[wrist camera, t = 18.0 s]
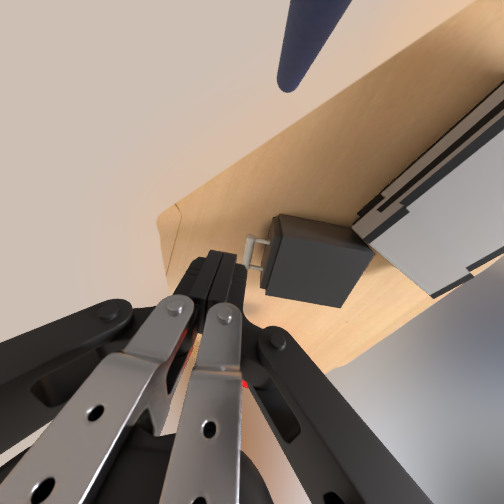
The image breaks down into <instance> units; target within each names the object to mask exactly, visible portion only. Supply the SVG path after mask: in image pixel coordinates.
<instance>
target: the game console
mask: <svg viewBox="0 0 504 504" xmlns="http://www.w3.org/2000/svg"><path fill="white" fill-rule="evenodd" d="M357 214H358V215H359V216H360V218H359V219H358V220H357V221H356V222H354V223H353V224H352V225H353V226H352V229H353V230H354V231H355V232H356V233H357V234H358V235H359V236H360V237H361V238H362V239H363V240H364V241H365V242H367V243H368V244H369V245H370V246H371V247H373V248H374V249H375V250H376V251H377V252H379V253H380V254H381V255H382V256H383V257H384V258H386V259H387V260H388V261H389V262H390V263H392V264H393V265H394V266H395V267H396V268H397V269H399V270H400V271H401V272H402V273H403V274H405V275H406V276H407V277H408V278H409V279H410V280H412V281H413V282H414V283H415V284H416V285H418V286H419V287H420V288H421V289H422V290H424V291H425V292H426V293H427V294H428V295H429V296H431V297H432V298H433V299H435V298H437V297H438V296H440V295H442V294H444V293H446V292H448V291H450V290H452V289H453V288H455V287H457V286H459V285H461V284H463V283H465V282H466V281H468V280H470V279H472V278H474V276H473V275H472V274H471V273H470V271H472V270H474V269H476V268H478V267H479V266H481V265H483V264H485V263H487V262H488V261H490V260H492V259H494V258H496V257H497V256H499V255H501V254H503V253H504V81H503V82H502V83H501V84H500V85H499V86H497V87H496V88H495V89H494V90H493V91H492V92H491V93H490V94H489V95H488V96H486V97H485V98H484V99H483V100H482V101H481V102H480V103H479V104H478V105H476V106H475V107H474V108H473V109H472V110H471V111H470V112H469V113H468V114H466V115H465V116H464V117H463V118H462V119H461V120H460V121H459V122H458V123H456V124H455V125H454V126H453V127H452V128H451V129H450V130H449V131H448V132H447V133H445V134H444V135H443V136H442V137H441V138H440V139H439V140H438V141H437V142H435V143H434V144H433V145H432V146H431V147H430V148H429V149H428V150H427V151H425V152H424V153H423V154H422V155H421V156H420V157H419V158H418V159H417V160H416V161H414V162H413V163H412V164H411V165H410V166H409V167H408V168H407V169H406V170H404V171H403V172H402V173H401V174H400V175H399V176H398V177H397V178H396V179H394V180H393V181H392V182H391V183H390V184H389V185H388V186H387V187H386V188H384V189H383V190H382V191H381V192H380V193H379V194H378V195H377V196H376V197H375V198H373V199H372V200H371V201H370V202H369V203H368V204H367V205H366V206H365V207H363V208H362V209H361V210H360V211H359V212H358V213H357Z"/></svg>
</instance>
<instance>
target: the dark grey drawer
mask: <svg viewBox="0 0 504 504" xmlns="http://www.w3.org/2000/svg"><path fill="white" fill-rule="evenodd" d="M281 237H282V235H281V229H280V223H279V218H275V217H273V219H272V223H271V227H270V230H269V234H268V238H267V240H265V239H259V238H256V237H255V236H254V235H251V234H249V235H247V238H246V243H245V249H244V254H243V259H242V265H245V267H246V269H247V270H248V269H255V270H260V271H261V275H260V288H262V289H266V287H267V284H268V281H269V277H270V274H271V271H272V267H273V265H274V262H275V258H276V255H277V252H278V248H279V245H280V242H281ZM255 242H258V243H263V244H266V246H265V250H264V254H263V258H262V262H261V267H260V266H255V265H250V262H251V257H252V253H253V248H254V244H255Z"/></svg>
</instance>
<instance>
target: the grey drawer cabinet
mask: <svg viewBox="0 0 504 504" xmlns="http://www.w3.org/2000/svg"><path fill="white" fill-rule="evenodd" d="M278 218H279V223H280V229H281V235H282V237H281V242H280V245H279V248H278V252H277V255H276V258H275V262H274V265H273V267H272V271H271V274H270V277H269V281H268V284H267V287H266V289H265V291H266V292H265V295H268V296H274V297H280V298H285V299H291V300H296V301H302V302H308V303H313V304H319V305H325V306H330V307H336V308H341V307H342V305H343V303H344V302H345V300H346V299H347V297H348V296H349V294H350V293H351V291H352V289H353V288H354V286H355V285H356V283H357V282H358V280H359V278H360V277H361V275H362V274H363V272H364V271H365V269H366V267H367V266H368V264H369V263H370V261H371V260H372V258H373V256H374V255H375V253H374V252H373V251H372V250H371V249H370V247H369V246H368V245H367V244H366V243H365V242H364V241H363V240H362V239H361V238H360V237H359V236H358V235H357V234H356V233H355V232H354V231H353V230H352V228H349V227H344V226H339V225H334V224H329V223H324V222H319V221H314V220H308V219H303V218H298V217H293V216H288V215H283V214H279V217H278Z"/></svg>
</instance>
